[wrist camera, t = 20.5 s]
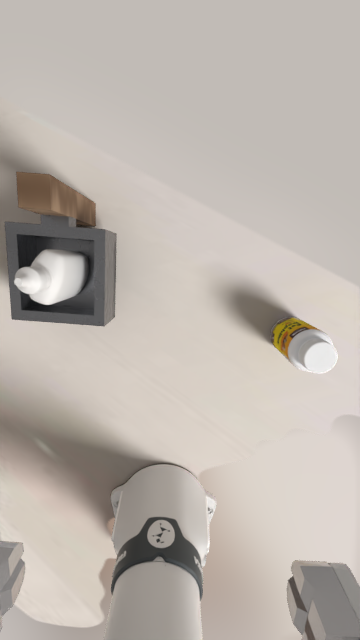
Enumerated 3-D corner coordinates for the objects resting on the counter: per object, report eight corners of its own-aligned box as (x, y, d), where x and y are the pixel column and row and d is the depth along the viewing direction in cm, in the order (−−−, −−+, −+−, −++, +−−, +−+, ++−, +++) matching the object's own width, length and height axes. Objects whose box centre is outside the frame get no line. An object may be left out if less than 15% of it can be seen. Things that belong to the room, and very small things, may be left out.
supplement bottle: (286, 308, 40) (321, 325, 30) (313, 331, 41) (355, 354, 31) (261, 336, 41) (287, 361, 31) (287, 357, 42) (320, 389, 32)
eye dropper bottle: (47, 274, 34) (-24, 282, 22) (78, 245, 33) (22, 238, 21) (71, 300, 35) (14, 322, 23) (102, 273, 34) (60, 281, 22)
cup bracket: (121, 311, 40) (93, 335, 27) (49, 305, 40) (-13, 328, 27) (124, 205, 37) (93, 178, 24) (45, 199, 36) (-28, 168, 24)
